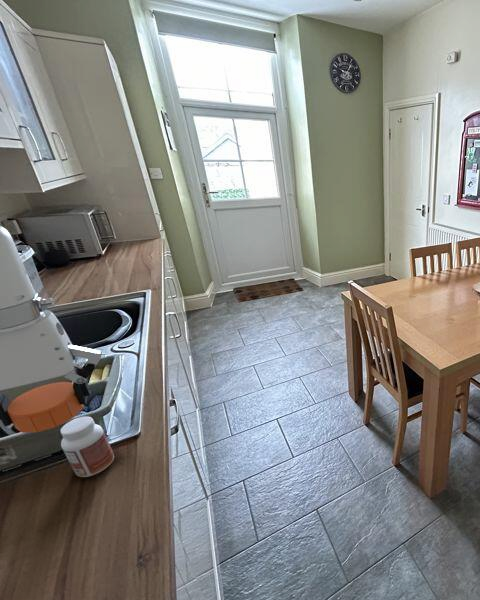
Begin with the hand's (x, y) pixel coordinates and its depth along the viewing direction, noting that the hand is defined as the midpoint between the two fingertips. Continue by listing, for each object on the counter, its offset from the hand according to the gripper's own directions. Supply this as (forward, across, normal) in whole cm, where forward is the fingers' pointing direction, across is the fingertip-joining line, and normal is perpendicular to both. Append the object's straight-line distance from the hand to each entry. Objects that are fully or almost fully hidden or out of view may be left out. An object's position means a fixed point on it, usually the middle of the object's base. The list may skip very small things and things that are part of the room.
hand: (49, 409), depth 53 cm
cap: (+1, 0, 0) cm, 1 cm away
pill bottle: (+22, 0, -8) cm, 23 cm away
